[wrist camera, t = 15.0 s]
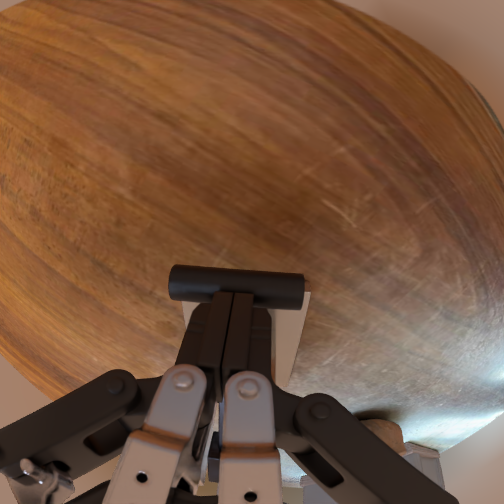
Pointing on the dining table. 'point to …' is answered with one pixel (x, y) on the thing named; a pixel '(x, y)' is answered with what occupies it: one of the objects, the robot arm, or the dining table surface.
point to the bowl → (387, 433)
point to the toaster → (418, 456)
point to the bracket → (282, 349)
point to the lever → (238, 281)
